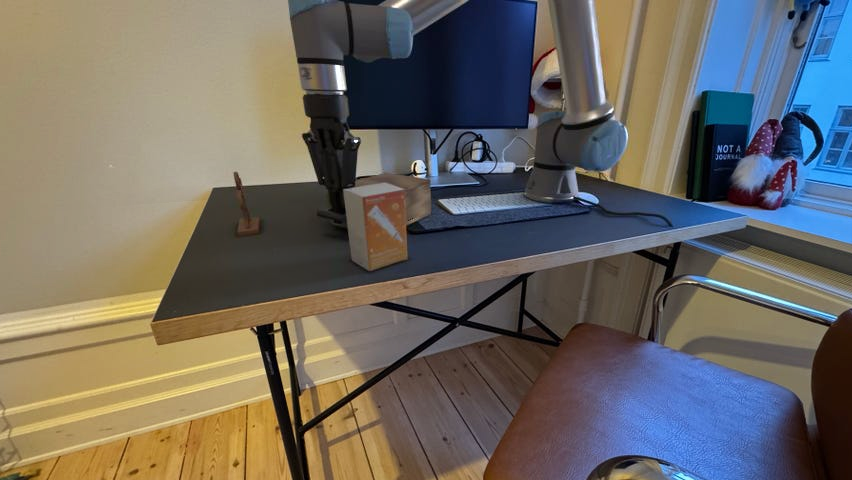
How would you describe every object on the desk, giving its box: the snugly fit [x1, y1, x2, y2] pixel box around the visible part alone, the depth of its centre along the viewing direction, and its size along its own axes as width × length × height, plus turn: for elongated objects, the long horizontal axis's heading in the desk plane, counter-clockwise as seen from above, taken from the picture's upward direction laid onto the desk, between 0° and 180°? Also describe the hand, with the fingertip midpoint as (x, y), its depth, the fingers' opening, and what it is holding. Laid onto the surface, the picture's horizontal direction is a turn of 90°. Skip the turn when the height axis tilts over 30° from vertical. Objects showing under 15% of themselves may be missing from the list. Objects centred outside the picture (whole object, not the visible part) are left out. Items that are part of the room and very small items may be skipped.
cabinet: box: [353, 172, 432, 227], centre depth 85 cm, size 17×14×9 cm
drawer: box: [316, 192, 348, 229], centre depth 80 cm, size 21×12×7 cm, turn 151°
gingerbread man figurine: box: [233, 171, 260, 237], centre depth 77 cm, size 9×4×12 cm, turn 26°
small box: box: [343, 182, 408, 272], centre depth 63 cm, size 8×6×13 cm
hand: (341, 221), depth 75 cm, fingers closed
